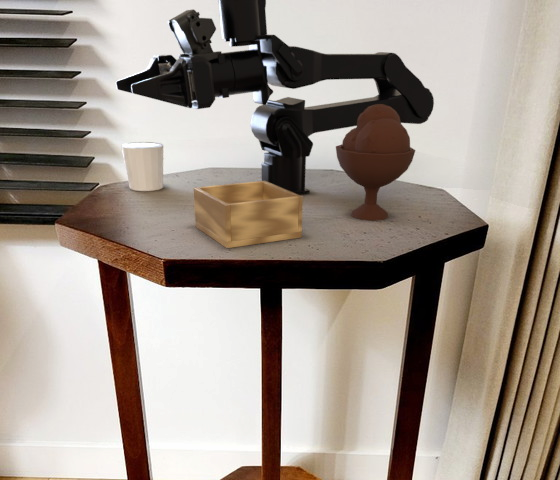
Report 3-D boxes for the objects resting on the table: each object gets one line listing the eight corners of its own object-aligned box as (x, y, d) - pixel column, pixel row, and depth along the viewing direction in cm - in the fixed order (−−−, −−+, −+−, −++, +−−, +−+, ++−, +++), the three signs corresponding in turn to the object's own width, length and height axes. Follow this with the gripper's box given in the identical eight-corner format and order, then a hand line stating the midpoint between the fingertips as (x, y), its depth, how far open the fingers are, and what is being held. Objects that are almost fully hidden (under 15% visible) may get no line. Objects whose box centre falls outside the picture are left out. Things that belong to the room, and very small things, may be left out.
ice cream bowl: (319, 210, 91) (324, 102, 84) (382, 204, 95) (392, 100, 88) (354, 228, 83) (362, 110, 75) (421, 220, 87) (436, 107, 79)
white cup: (157, 192, 100) (154, 148, 97) (119, 190, 101) (114, 146, 98) (172, 184, 106) (169, 142, 102) (135, 182, 107) (131, 140, 104)
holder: (264, 218, 87) (264, 180, 84) (301, 237, 79) (303, 196, 76) (195, 226, 83) (193, 187, 80) (226, 248, 74) (225, 205, 72)
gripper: (198, 13, 92) (96, 22, 87) (246, 8, 78) (127, 18, 72) (208, 93, 98) (113, 105, 93) (254, 101, 83) (145, 117, 78)
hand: (123, 87), depth 84 cm, fingers open, 9 cm apart
